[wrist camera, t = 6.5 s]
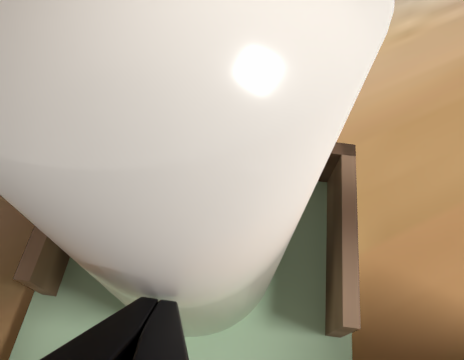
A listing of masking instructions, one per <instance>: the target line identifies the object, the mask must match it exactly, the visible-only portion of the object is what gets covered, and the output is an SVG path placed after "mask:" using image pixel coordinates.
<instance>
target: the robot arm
mask: <svg viewBox="0 0 464 360" xmlns="http://www.w3.org/2000/svg"><path fill="white" fill-rule="evenodd" d="M40 360H189V357H188V352H187V347H186V342H185V337H184V332H183V327H182V322H181V317H180V312H179V307H178V303H177V302H176V301H170V300H163V299H162V300H159V301H158V299H156V298H149V297H140V298H138V299H136V300H135V301H133V302H132V303H130V304H128V305H127V306H125V307H124V308H122V309H120V310H119V311H117V312H116V313H114V314H112V315H111V316H109V317H107V318H106V319H104V320H103V321H101V322H99V323H98V324H96V325H95V326H93V327H91V328H90V329H88V330H87V331H85V332H83V333H82V334H80V335H78V336H77V337H75V338H74V339H72V340H70V341H69V342H67V343H66V344H64V345H62V346H61V347H59V348H58V349H56V350H54V351H53V352H51V353H50V354H48V355H46V356H45V357H43V358H41V359H40Z"/></svg>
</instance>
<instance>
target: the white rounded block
mask: <svg viewBox="0 0 464 360" xmlns="http://www.w3.org/2000/svg"><path fill="white" fill-rule="evenodd" d="M394 2H395V0H0V195H1V196H2V197H3V198H4V199H5V200H7V201H8V202H9V203H10V204H11V205H12V206H13V207H15V208H16V209H17V210H18V211H19V212H20V213H21V214H22V215H24V216H25V217H26V218H27V219H28V220H29V221H30V222H31V223H33V224H34V225H35V226H36V227H37V228H38V229H39V230H41V231H42V232H43V233H44V234H45V235H46V236H47V237H48V238H50V239H51V240H52V241H53V242H54V243H55V244H56V245H58V246H59V247H60V248H61V249H62V250H63V251H64V252H65V253H67V254H68V255H69V256H70V257H71V258H72V259H73V260H74V261H76V262H77V263H78V264H79V265H80V266H81V267H82V268H84V269H85V270H86V271H87V272H88V273H89V274H90V275H91V276H93V277H94V278H95V279H96V280H97V281H98V282H99V283H101V284H102V285H103V286H104V287H105V288H106V289H107V290H108V291H110V292H111V293H112V294H113V295H114V296H115V297H116V298H118V299H119V300H120V301H121V302H122V303H123V304H124V305H125V306H127V305H128V304H130V303H132V302H133V301H135V300H136V299H138V298H140V297H149V298H156V299H158V301H159V300H162V299H163V300H170V301H176V302H177V303H178V307H179V312H180V317H181V322H182V327H183V332H184V337H199V336H206V335H211V334H214V333H218V332H221V331H223V330H225V329H228V328H230V327H232V326H233V325H235V324H237V323H238V322H240V321H241V320H242V319H244V318H245V317H246V316H247V315H249V314H250V313H251V311H252V310H253V309H254V308H255V307H256V306H257V305H258V303H259V302H260V301H261V299H262V298H263V296H264V294H265V292H266V290H267V289H268V287H269V284H270V282H271V280H272V278H273V276H274V274H275V272H276V269H277V267H278V265H279V263H280V261H281V259H282V257H283V254H284V252H285V250H286V248H287V246H288V244H289V242H290V240H291V237H292V235H293V233H294V231H295V229H296V227H297V225H298V222H299V220H300V218H301V216H302V214H303V212H304V210H305V207H306V205H307V203H308V201H309V199H310V197H311V195H312V192H313V190H314V188H315V186H316V184H317V182H318V180H319V177H320V175H321V173H322V171H323V169H324V167H325V165H326V163H327V160H328V158H329V156H330V154H331V152H332V150H333V148H334V145H335V143H336V141H337V139H338V137H339V135H340V133H341V130H342V128H343V126H344V124H345V122H346V120H347V118H348V115H349V113H350V111H351V109H352V107H353V105H354V103H355V100H356V98H357V96H358V94H359V92H360V90H361V88H362V86H363V83H364V81H365V79H366V77H367V75H368V73H369V71H370V68H371V66H372V64H373V62H374V60H375V58H376V56H377V53H378V51H379V49H380V47H381V45H382V43H383V41H384V38H385V36H386V34H387V31H388V28H389V25H390V21H391V18H392V15H393V12H394Z"/></svg>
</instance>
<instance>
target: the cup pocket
mask: <svg viewBox="0 0 464 360" xmlns="http://www.w3.org/2000/svg"><path fill="white" fill-rule="evenodd" d="M318 181H320V182H327V238H326V313H325V336H332V337H338V338H341V337H343V336H346V335H348V334H350V333H353V332H355V331H357V330H360V329H361V324H360V289H359V255H358V220H357V186H356V151H355V145H353V144H345V143H337V142H336V143H335V145H334V148H333V150H332V152H331V154H330V156H329V158H328V160H327V163H326V165H325V167H324V169H323V171H322V173H321V175H320V177H319V180H318ZM69 258H70V256H69V255H68V254H67V253H65V252H64V251H63V250H62V249H61V248H60V247H59V246H58V245H56V244H55V243H54V242H53V241H52V240H51V239H50V238H48V237H47V236H46V235H45V234H44V233H43V232H42V231H41V230H39V229H38V228H37V227H36V226H34V229H33V231H32V234H31V236H30V239H29V241H28V243H27V246H26V248H25V251H24V253H23V255H22V258H21V260H20V263H19V265H18V268H17V270H16V272H15V275H14V277H13V279H14V280H16V281H17V282H19V283H21V284H23V285H25V286H27V287H29V288H31V289H32V290H34V291H36V292H38V293H40V294H42V295H49V296H57V293H58V290H59V287H60V284H61V281H62V278H63V276H64V273H65V270H66V267H67V264H68V261H69Z"/></svg>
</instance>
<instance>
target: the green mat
mask: <svg viewBox="0 0 464 360" xmlns="http://www.w3.org/2000/svg"><path fill="white" fill-rule="evenodd" d="M326 238H327V182H320V181H318V182H317V184H316V186H315V188H314V190H313V192H312V195H311V197H310V199H309V201H308V203H307V205H306V207H305V210H304V212H303V214H302V216H301V218H300V220H299V222H298V225H297V227H296V229H295V231H294V233H293V235H292V237H291V240H290V242H289V244H288V246H287V248H286V250H285V252H284V254H283V257H282V259H281V261H280V263H279V265H278V267H277V269H276V272H275V274H274V276H273V278H272V280H271V282H270V284H269V287H268V289H267V290H266V292H265V294H264V296H263V298H262V299H261V301H260V302H259V303H258V305H257V306H256V307H255V308H254V309H253V310H252V311H251V313H250V314H249V315H247V316H246V317H245V318H244V319H242V320H241V321H240V322H238V323H237V324H235V325H233V326H232V327H230V328H228V329H225V330H223V331H221V332H218V333H214V334H211V335H206V336H199V337H185V342H186V347H187V352H188V357H189V360H352V333H350V334H348V335H346V336H343V337H341V338H338V337H332V336H325V313H326ZM124 307H125V305H124V304H123V303H122V302H121V301H120V300H119V299H118V298H116V297H115V296H114V295H113V294H112V293H111V292H110V291H108V290H107V289H106V288H105V287H104V286H103V285H102V284H101V283H99V282H98V281H97V280H96V279H95V278H94V277H93V276H91V275H90V274H89V273H88V272H87V271H86V270H85V269H84V268H82V267H81V266H80V265H79V264H78V263H77V262H76V261H74V260H73V259H72V258H71V257H70V258H69V261H68V264H67V267H66V270H65V273H64V276H63V278H62V281H61V284H60V287H59V290H58V293H57V296H49V295H42V294H40V293H38V292H36V291H35V292H34V294H33V297H32V300H31V302H30V305H29V307H28V310H27V313H26V315H25V318H24V321H23V323H22V326H21V329H20V331H19V334H18V337H17V339H16V342H15V344H14V347H13V350H12V352H11V355H10V358H9V360H40V359H41V358H43V357H45V356H46V355H48V354H50V353H51V352H53V351H54V350H56V349H58V348H59V347H61V346H62V345H64V344H66V343H67V342H69V341H70V340H72V339H74V338H75V337H77V336H78V335H80V334H82V333H83V332H85V331H87V330H88V329H90V328H91V327H93V326H95V325H96V324H98V323H99V322H101V321H103V320H104V319H106V318H107V317H109V316H111V315H112V314H114V313H116V312H117V311H119V310H120V309H122V308H124Z"/></svg>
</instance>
